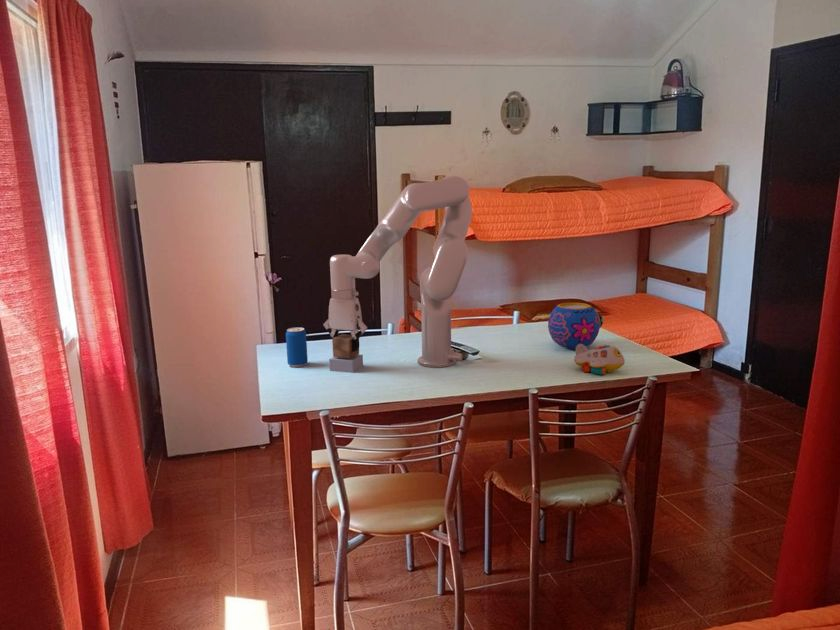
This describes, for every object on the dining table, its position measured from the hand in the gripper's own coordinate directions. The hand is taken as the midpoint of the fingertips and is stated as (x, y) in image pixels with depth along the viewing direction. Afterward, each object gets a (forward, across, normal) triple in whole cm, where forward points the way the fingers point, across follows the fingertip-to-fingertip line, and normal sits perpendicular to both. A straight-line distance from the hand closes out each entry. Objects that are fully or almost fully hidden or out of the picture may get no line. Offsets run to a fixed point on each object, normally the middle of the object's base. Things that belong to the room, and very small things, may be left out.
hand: (346, 349), depth 214 cm
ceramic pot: (+7, -60, -53) cm, 80 cm away
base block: (+7, 0, 0) cm, 7 cm away
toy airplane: (+7, -74, -28) cm, 79 cm away
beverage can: (+6, +17, +3) cm, 19 cm away
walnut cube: (+2, 0, 0) cm, 2 cm away
